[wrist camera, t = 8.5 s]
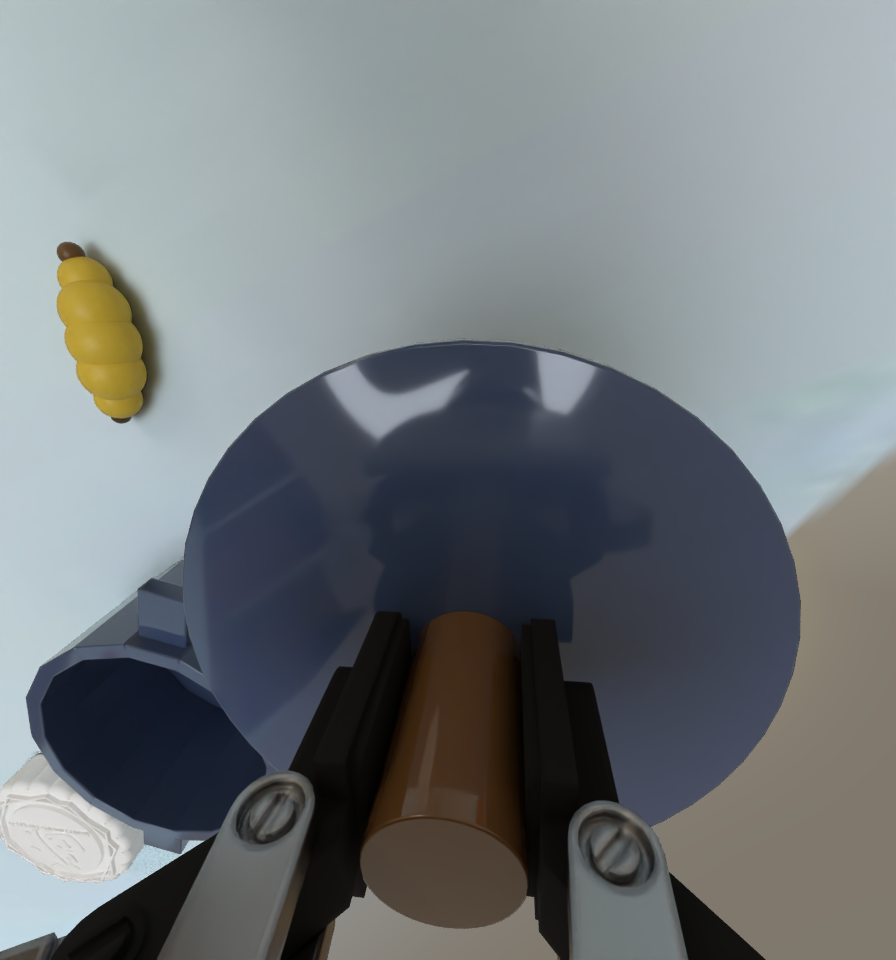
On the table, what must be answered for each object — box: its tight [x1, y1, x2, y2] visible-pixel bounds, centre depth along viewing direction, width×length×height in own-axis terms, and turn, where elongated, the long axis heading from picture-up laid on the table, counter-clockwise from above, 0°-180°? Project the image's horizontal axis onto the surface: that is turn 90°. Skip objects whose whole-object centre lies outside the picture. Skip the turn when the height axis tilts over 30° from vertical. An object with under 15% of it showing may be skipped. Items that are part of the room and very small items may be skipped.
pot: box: [26, 560, 277, 854], centre depth 28 cm, size 14×19×8 cm
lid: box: [182, 338, 801, 929], centre depth 10 cm, size 15×15×6 cm
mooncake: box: [0, 755, 145, 883], centre depth 39 cm, size 12×12×4 cm
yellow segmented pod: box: [57, 242, 147, 423], centre depth 24 cm, size 9×3×3 cm, turn 2°
